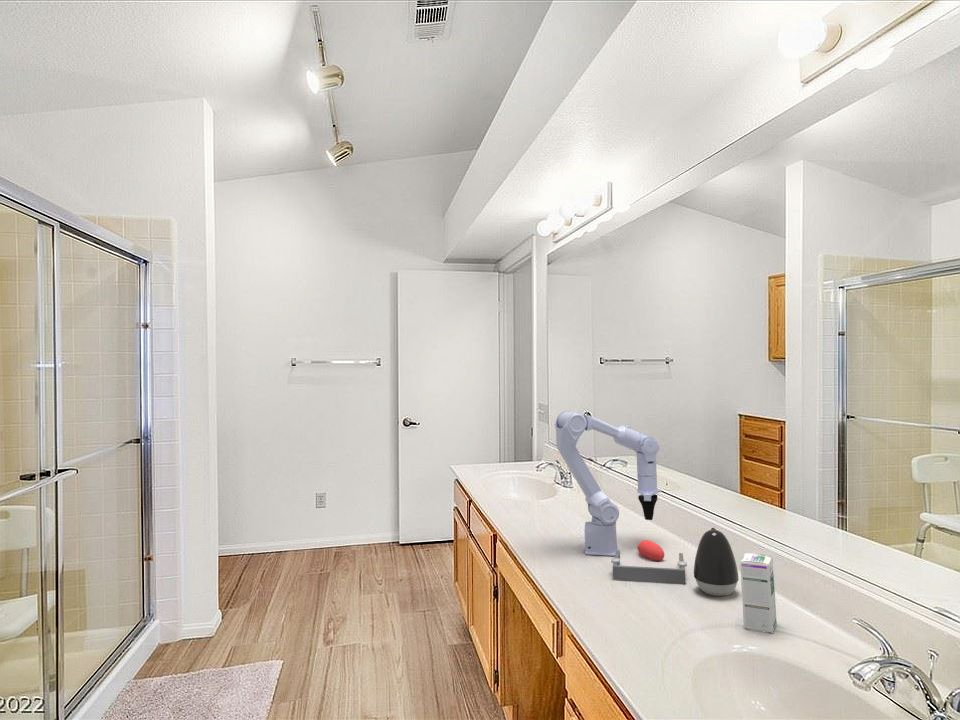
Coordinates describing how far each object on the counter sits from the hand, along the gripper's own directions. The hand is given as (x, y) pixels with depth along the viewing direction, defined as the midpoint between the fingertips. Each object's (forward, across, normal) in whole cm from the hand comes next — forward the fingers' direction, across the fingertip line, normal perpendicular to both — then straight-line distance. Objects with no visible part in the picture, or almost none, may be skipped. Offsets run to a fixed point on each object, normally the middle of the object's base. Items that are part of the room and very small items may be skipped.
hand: (648, 519), depth 184 cm
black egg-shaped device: (+9, -34, -16) cm, 39 cm away
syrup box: (+9, -52, -23) cm, 58 cm away
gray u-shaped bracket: (+8, -23, 0) cm, 24 cm away
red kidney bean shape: (+9, -10, 0) cm, 13 cm away
